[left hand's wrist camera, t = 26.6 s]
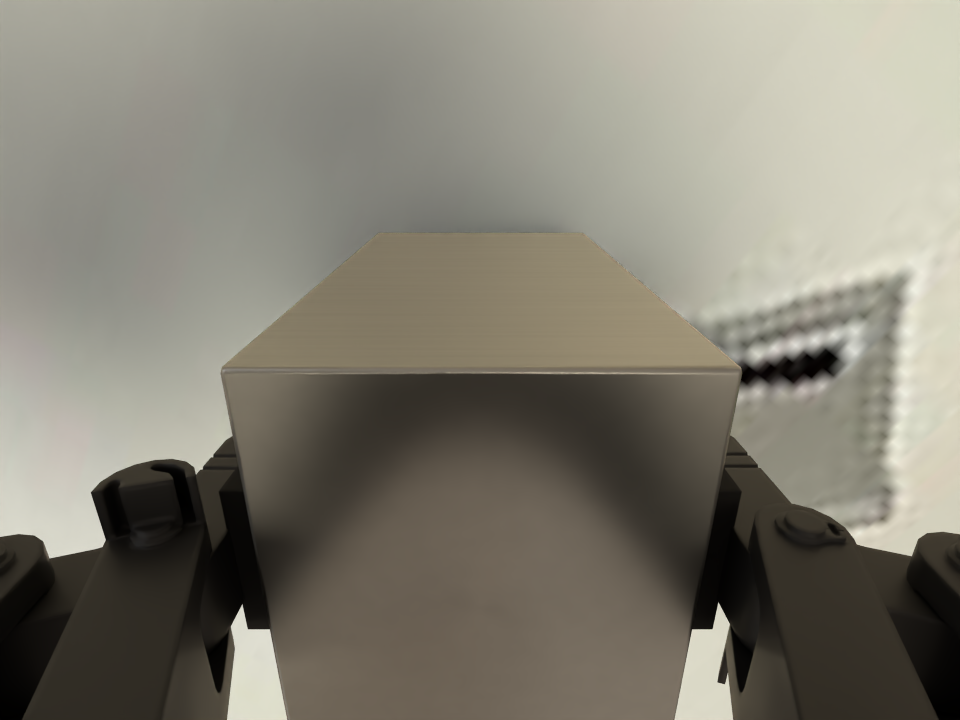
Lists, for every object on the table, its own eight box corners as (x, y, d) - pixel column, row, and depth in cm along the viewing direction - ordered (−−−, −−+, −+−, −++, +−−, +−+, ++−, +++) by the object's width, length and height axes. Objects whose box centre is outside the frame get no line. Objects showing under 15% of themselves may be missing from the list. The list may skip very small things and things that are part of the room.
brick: (392, 446, 19) (295, 774, 9) (377, 232, 16) (216, 367, 6) (569, 447, 19) (665, 775, 9) (584, 232, 16) (746, 368, 6)
